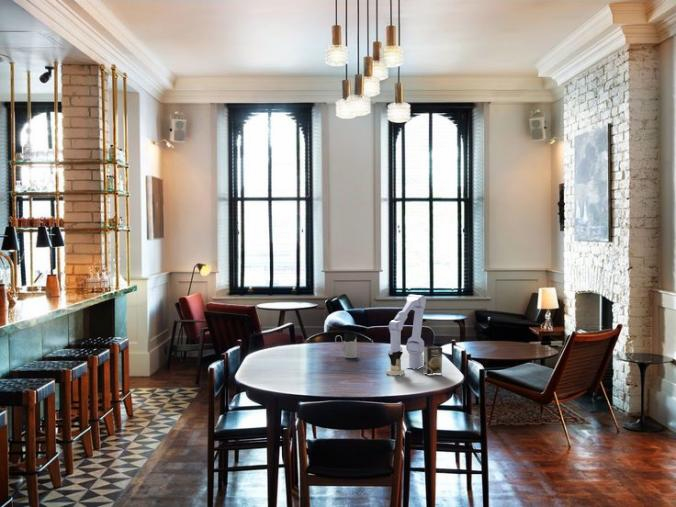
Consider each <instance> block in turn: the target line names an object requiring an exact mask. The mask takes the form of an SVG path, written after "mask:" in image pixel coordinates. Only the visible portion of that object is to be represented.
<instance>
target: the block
mask: <svg viewBox="0 0 676 507" xmlns="http://www.w3.org/2000/svg"><path fill="white" fill-rule="evenodd" d="M390 368H391V370H394V371H399V370H401V369H402V359H401V358H400V359H396V365H395V366H392V365H391V364H390Z"/></svg>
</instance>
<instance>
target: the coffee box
mask: <svg viewBox="0 0 676 507" xmlns="http://www.w3.org/2000/svg"><path fill="white" fill-rule="evenodd" d="M422 369H423V371H422V372H424V373H427V374H433V373H442V374H443V347H441V346H438V345H431V346H429V345H427V346H424V351H423V368H422Z"/></svg>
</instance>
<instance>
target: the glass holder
mask: <svg viewBox="0 0 676 507" xmlns="http://www.w3.org/2000/svg"><path fill="white" fill-rule="evenodd" d="M337 337H340V338H341V342H342V343H344V344H343V345H344V346H343V347H344V348H343V349H342V348H340V346H339V345H338V343H337ZM334 340H335V344H336V345H335V346H337V348H338V349H339V350H341V351H342V353H343V357H344V358H346V359H347V358H349V359H350V358H351V359H353V358H357V357H358V355H357V333H356V332H345V333H344V341H343V337H342V336H341V335H336V336H335V339H334Z"/></svg>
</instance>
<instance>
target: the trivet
mask: <svg viewBox="0 0 676 507" xmlns="http://www.w3.org/2000/svg"><path fill="white" fill-rule="evenodd" d="M402 373H404V374H405V369H404V368H401V370H399V371H394V370H391V367H390V368H388V369H386V370H385V375H386V374H389V375H388V376H392V375H400V374H402ZM400 376H401V375H400Z"/></svg>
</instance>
